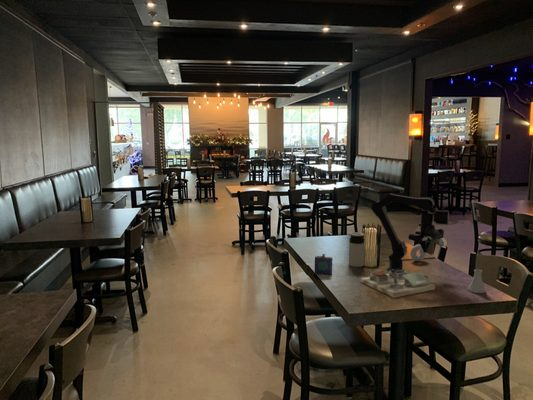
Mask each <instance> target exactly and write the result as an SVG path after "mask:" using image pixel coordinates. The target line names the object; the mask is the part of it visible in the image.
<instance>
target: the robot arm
mask: <svg viewBox="0 0 533 400" xmlns="http://www.w3.org/2000/svg"><path fill="white" fill-rule="evenodd" d="M392 203H398V204H403V205H410V206H414V207H416V208H419V210H418V211H417V212H416V213H417V214H418V215H420V223H418V226H419V227H420V228H419V229H420V230H419V231H418V232H417V233H409V234H408V236H407V237H408V240H409V241H414V242H418V244H419V245H421V247H422V249H423V252H424V253H426V254H427V252H428V249H429V248H430V245H431V244H432V243H433V242H434V241H437V240H441V239H444V235H445V231H444V229H443V228H439V229H436V226H435V225H434V224H433V222H434V223H435V224H437V225H438V224H439V225H447V226H449V224H450V211H449V210H439V209H438V208H437V206H436V205H435V200H434V199H433V198H431V197H411V196H408V195H402V194H401V195H400V194H396V193H395V194H394V193H389V194H387V195H386V196H385V197H384V198H382V199H380V200H377V201H374V202H373V203H372V204H371V206H370V208H371V211H372V212H373V214H374V215H375V216H376V217H377V218H378V219H379V221H380V223H381V225H382V227H383V229H384V231H385V234H386V235H387V238H388V240H389V242H390V243H391V244H390V245H391V251H392V253H391V254H390V255H389V256H388V259H389V265H388V268H386V270H387V271H389V270H391V269H400V270H403V271H405V269H403V265H404V264H403V258H404V257H405V256H406V254H407V253H408V246H407V245H406V243H405V241H401V240H400V239H399V236H398V235H397V232H396V231H395V229H394V227H393V225H392V223H391V220H390V218H389V216H388V209H387V207H386V206H387V205H389V204H392Z"/></svg>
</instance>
